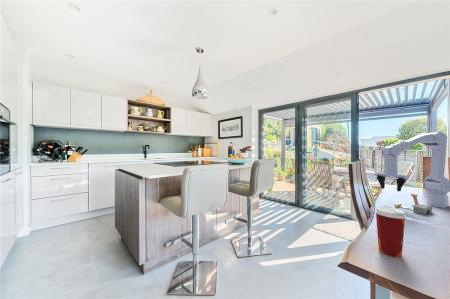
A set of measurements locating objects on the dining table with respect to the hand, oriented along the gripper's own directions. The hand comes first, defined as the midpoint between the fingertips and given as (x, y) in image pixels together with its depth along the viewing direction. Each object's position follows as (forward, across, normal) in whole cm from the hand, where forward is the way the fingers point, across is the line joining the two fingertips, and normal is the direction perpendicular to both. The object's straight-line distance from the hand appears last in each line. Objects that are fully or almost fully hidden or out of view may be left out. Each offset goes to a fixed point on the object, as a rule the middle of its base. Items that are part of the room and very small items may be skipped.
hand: (390, 189), depth 105 cm
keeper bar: (+6, +8, +8) cm, 12 cm away
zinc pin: (+11, +6, +1) cm, 12 cm away
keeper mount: (+10, +8, +10) cm, 17 cm away
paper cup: (+11, +26, -57) cm, 64 cm away
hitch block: (+10, +13, +1) cm, 17 cm away
